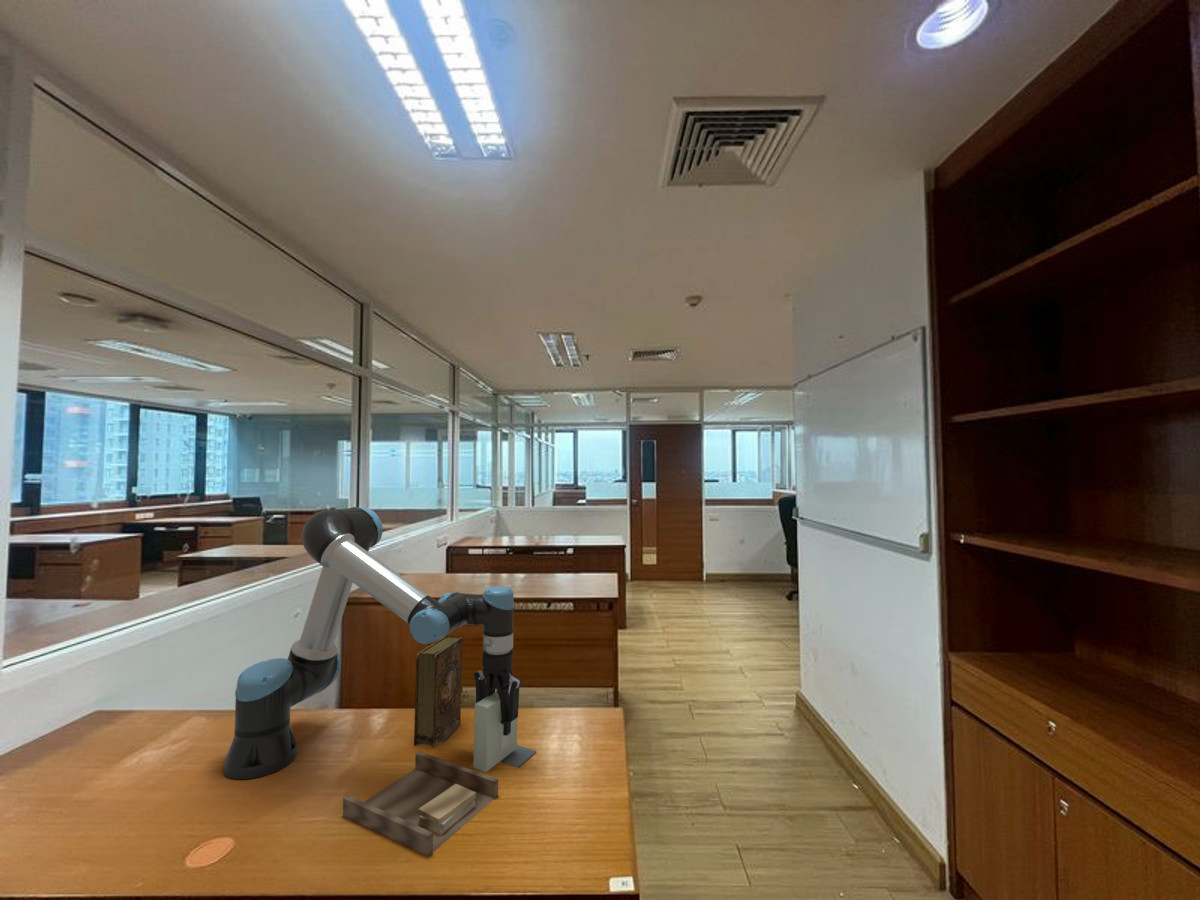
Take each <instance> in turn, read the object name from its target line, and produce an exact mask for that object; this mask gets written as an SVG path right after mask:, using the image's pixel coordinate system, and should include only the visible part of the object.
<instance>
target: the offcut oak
mask: <svg viewBox="0 0 1200 900" xmlns="http://www.w3.org/2000/svg"><path fill="white" fill-rule="evenodd" d="M474 798H476V792H473V791H471V790H469V789H467V788H465V787H462V786H460V785H458V784H455V785H453V786H452V787H450V788H449V789H447V790H446V791H444V792H443V793H441V794H440V795H438V796H437V797H435V798H434V799H432V800H431V801H429V802H428V803H426V804H425V805H423V806H422V807H420V808H419V809H418V814H419V815H421V816H423V817H425V818H427V819H429V820H431V821H433V822H435V823H436V824H438V825H439V824H440V823H442V822H443V821H444V820H446V819H447V818H449V817H450V816H451V815H453V814H454V813H455V812H457V811H458V810H459V809H461V808H462V807H464V806H465V805H466V804H468V803H469V802H470V801H472V800H473V799H474Z"/></svg>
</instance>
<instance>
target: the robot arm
mask: <svg viewBox="0 0 1200 900" xmlns="http://www.w3.org/2000/svg"><path fill="white" fill-rule="evenodd" d="M383 529H384V528H383V523H382V521H381V520H380V517H379V515H378V514H377V513H376V512H375V511H373V509H370V508H367V507H358V506H353V507H349V508H339V509H338V508H337V509H325V510H321V511H318V512H316V513H315V514H313V515H312V516H310V517H309V518H308V520H307V521H305V523H304V525H303V528H302V532H301V541H302V545H303V548H304V549H305V551H306V552H307V554H308V555H309V556H310V557H311V558H312V559H313V560H314V561H315V562H316V563H318V564H319V565H320V566H321V567H322V568H321V571H320V574H319V577H318V581H317V583H316V587H315V590H314V594H313V597H312V600H311V604H310V606H309V610H308V611H307V612H308V613H307V615H306V619H305V622H304V627H303V628H302V633H301V635H300V638H299V639H298V640H296V641H294V642H293V643H292V645H291V647H290V650H289V654H288V657H287V658H281V657H280V658H279V657H278V658H270V659H267V660H266V661H259V662H257V663H255V664H253V665H251V666H248V667H247V668H246V669H244V670H243V671H242V672H241V673H240V674H239V676H238V677H237V681H236V688H235V690H234V693H235V694H234V696H235V706H234V708H235V712H234V733H233V735H234V736H233V739H232V741H231V744H230V746H229V749H228V752H227V753H226V757H225V760H224V766H223V773H224V775H225V776H226V777H227V778H230V779H231V780H232V779H234V780H248V779H256V778H259V777H263V776H266V775H270V774H272V773H275V772H278V771H279V770H281V769H283V768H285V767H287V766H288V765H289V764H291V763H292V762H293V761H294V760H295V758H296V756H297V754H298V751H297V749H298V744H297V740H296V738H295V734H294V733H293V730H292V727H291V708H292V707H294V706H295V705H297V704H299V703H301V702H303V701H305V700H307V699H309V698H310V697H313V696H315V695H317V694H319V693H320V692H323V691H325V689H327V688H329V687H330V686H331V685H332V684H333V683H334V682H335V681H336V679H337V678H338V676H339V674H340V672H341V665H342V662H341V659H339V658H340V654H339V652H338V651H339V650H338V647H337V645H336V643H335V641H336V638H337V635H338V631H339V628H340V625H341V622H342V619H343V615H344V612H345V609H346V605H347V603H348V599H349V596H350V593H351V590H352V587H353V584H354V585H356V586H357V587H359V588H360V589H361V590H363V591H364V592H365V593H366V594H367V595H369V596H370V597H371V598H374V599H375V601H377V602H379V603H380V604H382V605H383V606H384V607H386V608H387V609H388V610H390V611H391V612H392V613H394V615H396V616H398V617H399V618H401V619H402V620H403V621H404V622H406V623H407V624H408V625H409V631H410V634H411V636H412V638H413V640H414V641H416V642H417V643H420V644H423V645H429V644H433V643H435V642H437V641H438V640H440V639H441V638H443V637H445V636H448V634H451V633H452V632H454V631H455V630H457V629H459V628H461V627H463V626H464V625H471V626H482V631H483V632H482V633H483V634H482V650H483V652H482V667H483V668H482V669H480V670H478V671H476V672H474V673H473V677H474V682H475V704H476V703H477V702H479V701H481V700H483V699H484V698H486V697H489V696H491V695H492V694H494V693H495V692H496V691H497V694H498V695H499V700H500V708H501V715H502V721H501V722H500V728H499V750H503V749H504V748H505V747H506V746H508V734H510V732H511V722H512V721H513V720H515V719H516V718H517V719H518V717H519V703H520V701H519V700H520V688H521V685H522V683H523V682H522V679H521V678H516V677H514V676H513V675H514V674H513V671H512V667H513V663H514V658H513V657H514V650H513V648H514V616H515V615H514V614H515V613H514V612H515V611H514V610H515V600H514V597H515V596H514V591H513V589H512V588H511V587H509V586H505V585H500V586H496V585H495V586H489V587H487V588H485V589H484V591H483V594H478V593H477V594H476V593H464V592H463V593H462V592H456V591H455V592H447V593H445V592H444V593H443V594H442V595H441V597H440V598H439V599H438V601H437V600H436V599H434V598H433V597H432V596H431V595H429V594H427V593H426V592H425V591H423V590H422V589H420V588H419V587H417V586H416V585H415V584H413V583H412V582H411V581H409V580H408V579H407V578H405V577H404V576H402V575H401V574H399V573H398V572H396V571H395V570H394V569H393V568H391V567H390V566H389V565H387V564H385V563H384V562H383V561H381V560H380V559H379V558H377V556H374V555H373V554H372V553H371V552H369V551H370V549H371V548H373V547H375V546H376V545H377V544H379V542H380V540H381V539H382V537H383ZM509 687H510V692H509Z"/></svg>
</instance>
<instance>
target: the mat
mask: <svg viewBox="0 0 1200 900" xmlns="http://www.w3.org/2000/svg"><path fill="white" fill-rule="evenodd" d="M536 754H537V750H534V749H531V748H528V747H525V746H521V745H518V744H517V749H515V750H514V751H513V752H511V753H510V754H509V755H508V756H506V757H505V758H504V759H503V760H501V761H500V762H499V763H502V764H505V765H509V766H511V767H515V768H517V769H519V768H520V767H521V766H522V765H524V764H525V763H526V762H527V761H528V760H529V759H531V758H532V757H533V756H534V755H536Z"/></svg>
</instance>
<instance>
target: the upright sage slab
mask: <svg viewBox="0 0 1200 900" xmlns="http://www.w3.org/2000/svg"><path fill="white" fill-rule="evenodd" d="M509 692H510V687H509ZM473 716H474V719H473V721H474V722H473V723H474V724H473V762H472V763H473V764H472V767H473V768H474V769H476V770H480V771H482V772H484V773H487V772H489V771H490V770H491V769H492V768H493V767H495V766H496V765H497V764H499V763H501V762H500V761H501V760H503V759H504V758H505V757H506V756H508V755H509V754H510V753H511V752H513V751H514V750H515V749H517V745H518V717H517V718H516V719H515V720H513V721H512V722H511V732H510V734H508V746H506V747H505V748H504V749H503V750H499V728H500V722H501V721H502V715H501V708H500V700H499V695H498V694H497V690H495V693H494V694H492V695H491V696H489V697H486V698H484V699H483V700H481V701H479V702H477V703H476V702H475V703H474V715H473Z"/></svg>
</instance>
